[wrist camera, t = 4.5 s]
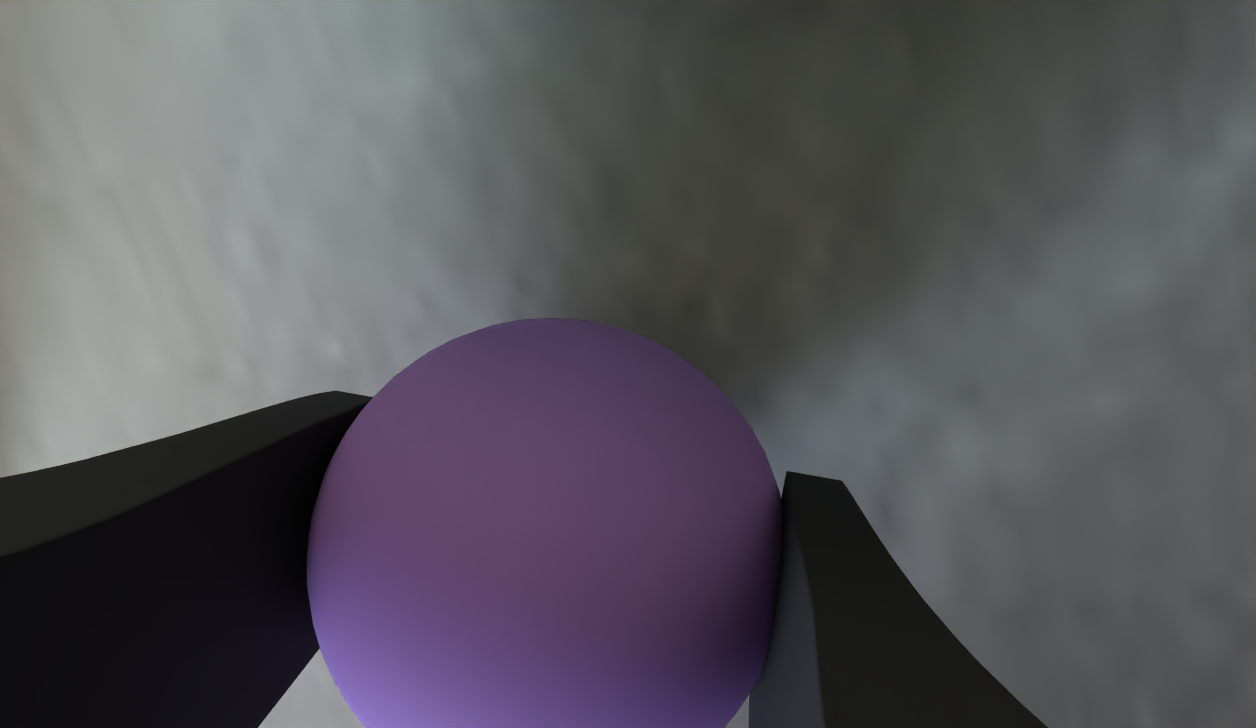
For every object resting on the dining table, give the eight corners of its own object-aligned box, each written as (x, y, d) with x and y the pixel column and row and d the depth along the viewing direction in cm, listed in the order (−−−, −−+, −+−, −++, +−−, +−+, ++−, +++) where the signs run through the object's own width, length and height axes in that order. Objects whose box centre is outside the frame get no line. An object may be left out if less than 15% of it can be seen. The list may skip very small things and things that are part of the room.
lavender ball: (859, 354, 11) (888, 597, 7) (712, 660, 13) (655, 1011, 9) (475, 205, 11) (245, 340, 7) (388, 527, 13) (163, 799, 9)
